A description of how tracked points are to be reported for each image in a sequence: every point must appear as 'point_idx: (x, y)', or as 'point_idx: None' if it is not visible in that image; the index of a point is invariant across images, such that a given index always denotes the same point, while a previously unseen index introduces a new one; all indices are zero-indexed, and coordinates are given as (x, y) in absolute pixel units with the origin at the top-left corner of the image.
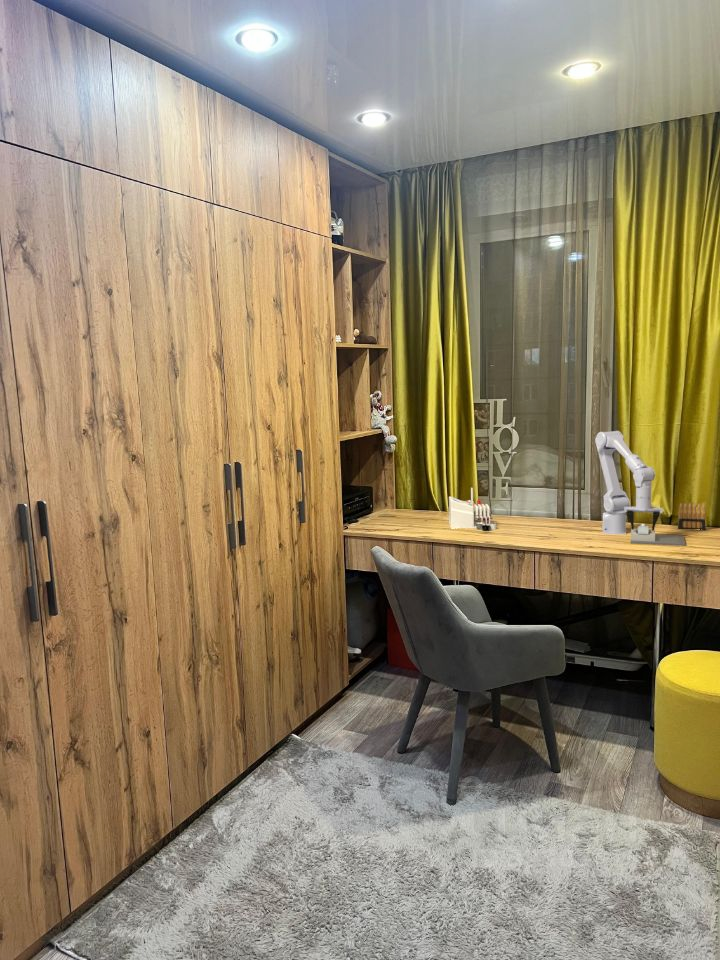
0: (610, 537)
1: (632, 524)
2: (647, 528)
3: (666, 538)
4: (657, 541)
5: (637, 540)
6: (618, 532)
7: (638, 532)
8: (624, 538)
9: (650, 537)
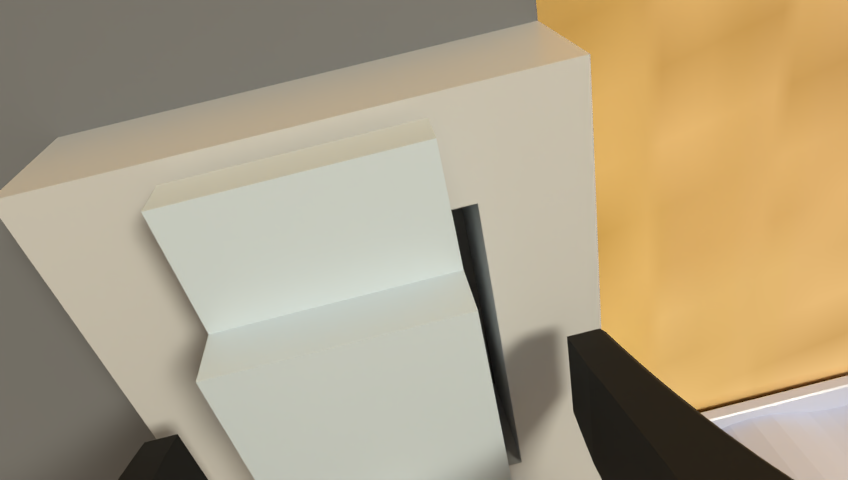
0: (834, 243)
1: (657, 414)
2: (226, 385)
3: (18, 420)
4: (10, 155)
5: (405, 53)
6: (732, 434)
7: (413, 138)
8: (642, 272)
9: (122, 149)
